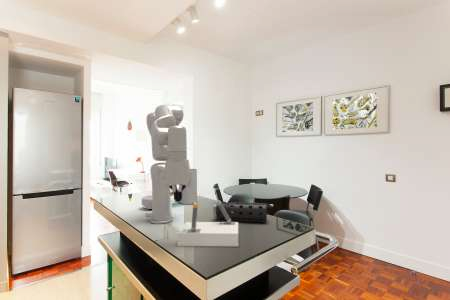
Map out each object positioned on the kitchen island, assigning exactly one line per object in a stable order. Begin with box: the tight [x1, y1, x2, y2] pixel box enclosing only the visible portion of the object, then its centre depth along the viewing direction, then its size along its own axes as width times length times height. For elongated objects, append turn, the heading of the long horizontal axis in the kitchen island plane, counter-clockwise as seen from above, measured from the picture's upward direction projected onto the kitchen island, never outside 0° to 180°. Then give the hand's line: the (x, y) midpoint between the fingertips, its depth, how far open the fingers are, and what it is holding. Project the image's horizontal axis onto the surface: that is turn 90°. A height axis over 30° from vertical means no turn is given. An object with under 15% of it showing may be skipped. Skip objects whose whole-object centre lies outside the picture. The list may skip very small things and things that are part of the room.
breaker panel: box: [176, 221, 239, 247], centre depth 104 cm, size 24×16×5 cm
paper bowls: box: [141, 194, 152, 210], centre depth 164 cm, size 15×15×8 cm
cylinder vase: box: [179, 168, 198, 205], centre depth 181 cm, size 12×12×25 cm
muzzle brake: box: [212, 200, 268, 223], centre depth 131 cm, size 10×28×10 cm, turn 78°
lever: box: [216, 199, 232, 224], centre depth 109 cm, size 2×4×11 cm
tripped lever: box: [191, 202, 199, 231], centre depth 99 cm, size 2×4×11 cm, turn 176°
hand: (178, 201), depth 99 cm, fingers closed
